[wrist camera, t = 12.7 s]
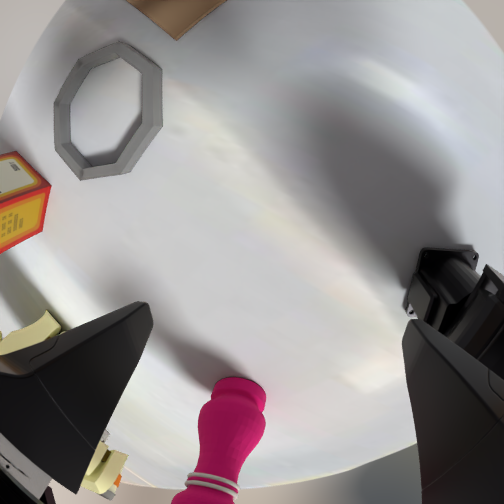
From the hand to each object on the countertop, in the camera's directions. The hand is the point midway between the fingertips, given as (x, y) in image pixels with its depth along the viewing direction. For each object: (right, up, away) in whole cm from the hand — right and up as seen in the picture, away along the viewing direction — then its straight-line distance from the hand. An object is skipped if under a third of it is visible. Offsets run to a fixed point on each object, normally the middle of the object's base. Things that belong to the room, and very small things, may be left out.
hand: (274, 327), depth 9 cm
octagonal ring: (-14, +15, +11) cm, 23 cm away
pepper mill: (-2, -14, +21) cm, 25 cm away
